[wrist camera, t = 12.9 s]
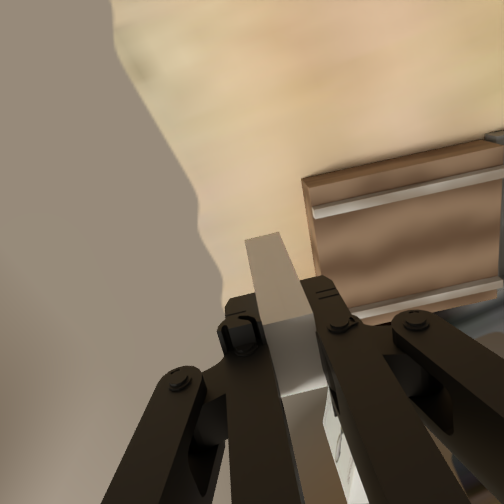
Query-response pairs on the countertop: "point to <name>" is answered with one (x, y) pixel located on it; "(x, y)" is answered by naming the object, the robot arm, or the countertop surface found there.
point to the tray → (500, 138)
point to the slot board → (410, 230)
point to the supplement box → (343, 457)
